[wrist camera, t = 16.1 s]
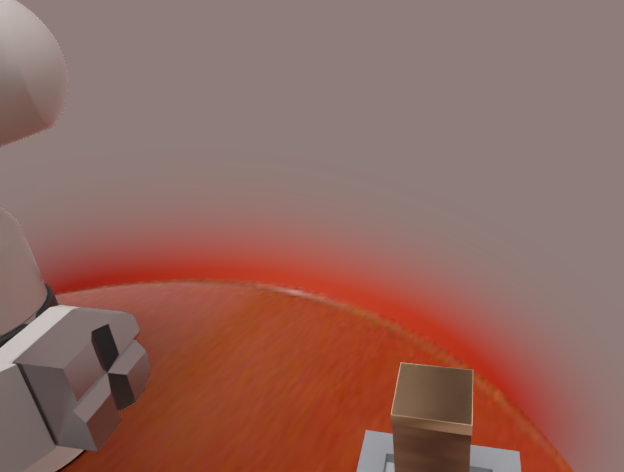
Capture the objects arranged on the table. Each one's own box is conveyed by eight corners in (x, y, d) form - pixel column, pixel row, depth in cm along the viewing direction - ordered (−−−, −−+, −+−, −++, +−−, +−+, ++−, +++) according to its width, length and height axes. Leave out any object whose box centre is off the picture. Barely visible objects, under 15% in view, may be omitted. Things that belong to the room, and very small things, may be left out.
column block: (397, 540, 36) (390, 414, 31) (405, 483, 40) (400, 362, 34) (466, 555, 35) (472, 425, 29) (467, 494, 39) (473, 370, 33)
